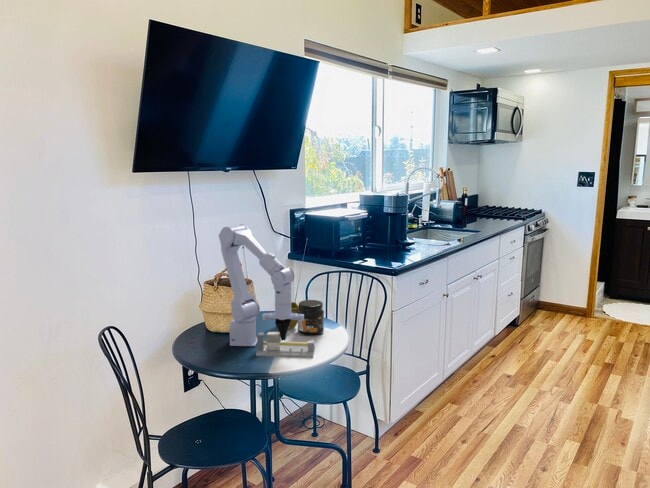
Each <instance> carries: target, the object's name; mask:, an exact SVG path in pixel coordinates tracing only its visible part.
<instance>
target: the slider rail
mask: <svg viewBox="0 0 650 488" xmlns="http://www.w3.org/2000/svg"><path fill="white" fill-rule="evenodd" d="M256 338H257V343H256V347H257V350H256V352H255V357H278V358H282V357H283V358H284V357H285V358H286V357H287V358H314V354H315V349H316V345H315V339H309V340H308V341H307V342H302V341H281V342H280V346H281V348H280V347H278V350H269V347H267V340H266V341H265V332H261V331H259V332H257V334H256Z"/></svg>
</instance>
